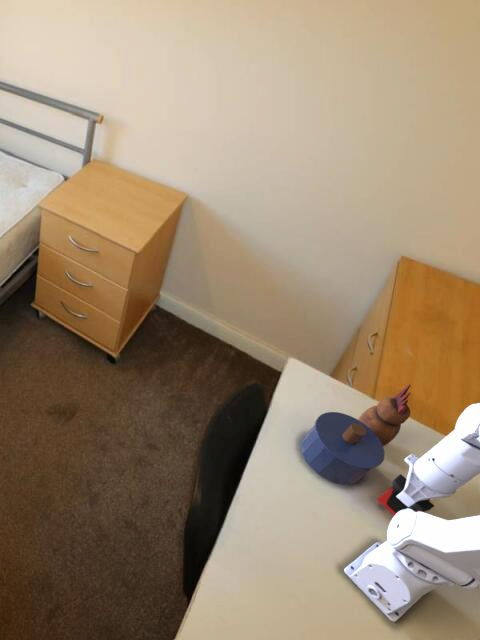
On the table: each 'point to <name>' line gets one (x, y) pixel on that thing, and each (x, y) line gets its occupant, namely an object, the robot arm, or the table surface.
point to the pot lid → (349, 440)
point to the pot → (328, 462)
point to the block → (385, 497)
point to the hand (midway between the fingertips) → (401, 501)
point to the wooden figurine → (387, 416)
